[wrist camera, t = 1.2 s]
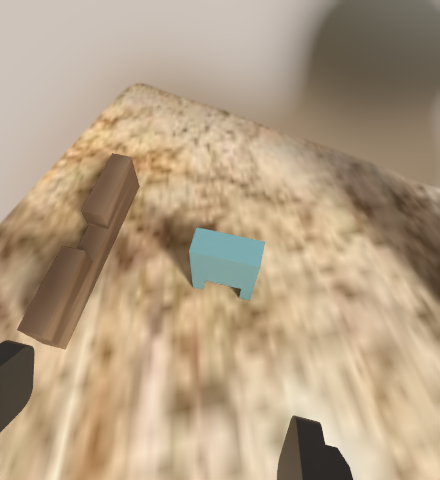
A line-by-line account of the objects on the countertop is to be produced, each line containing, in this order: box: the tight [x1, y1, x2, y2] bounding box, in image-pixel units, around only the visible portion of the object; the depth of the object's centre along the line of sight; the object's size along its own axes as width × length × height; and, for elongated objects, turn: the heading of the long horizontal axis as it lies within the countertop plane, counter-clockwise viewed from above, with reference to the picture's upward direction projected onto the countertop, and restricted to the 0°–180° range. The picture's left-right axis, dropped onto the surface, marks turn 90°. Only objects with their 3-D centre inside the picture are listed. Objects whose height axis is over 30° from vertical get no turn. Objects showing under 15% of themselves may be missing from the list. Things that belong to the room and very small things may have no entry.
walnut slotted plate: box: [17, 153, 139, 349], centre depth 34 cm, size 2×20×5 cm, turn 167°
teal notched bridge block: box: [189, 227, 265, 300], centre depth 31 cm, size 6×2×8 cm, turn 77°
